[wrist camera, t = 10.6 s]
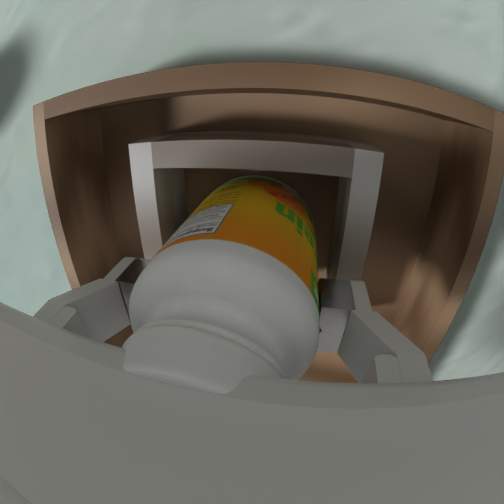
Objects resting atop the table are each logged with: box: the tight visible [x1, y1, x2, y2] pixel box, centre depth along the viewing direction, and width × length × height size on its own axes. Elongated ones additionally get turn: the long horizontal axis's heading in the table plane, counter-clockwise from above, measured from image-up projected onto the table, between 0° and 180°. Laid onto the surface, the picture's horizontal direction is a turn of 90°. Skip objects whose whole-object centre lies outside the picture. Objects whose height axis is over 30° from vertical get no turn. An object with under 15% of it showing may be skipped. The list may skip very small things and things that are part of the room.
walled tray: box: [33, 62, 504, 383], centre depth 14 cm, size 22×18×5 cm
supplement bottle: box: [122, 175, 320, 394], centre depth 9 cm, size 5×5×10 cm
